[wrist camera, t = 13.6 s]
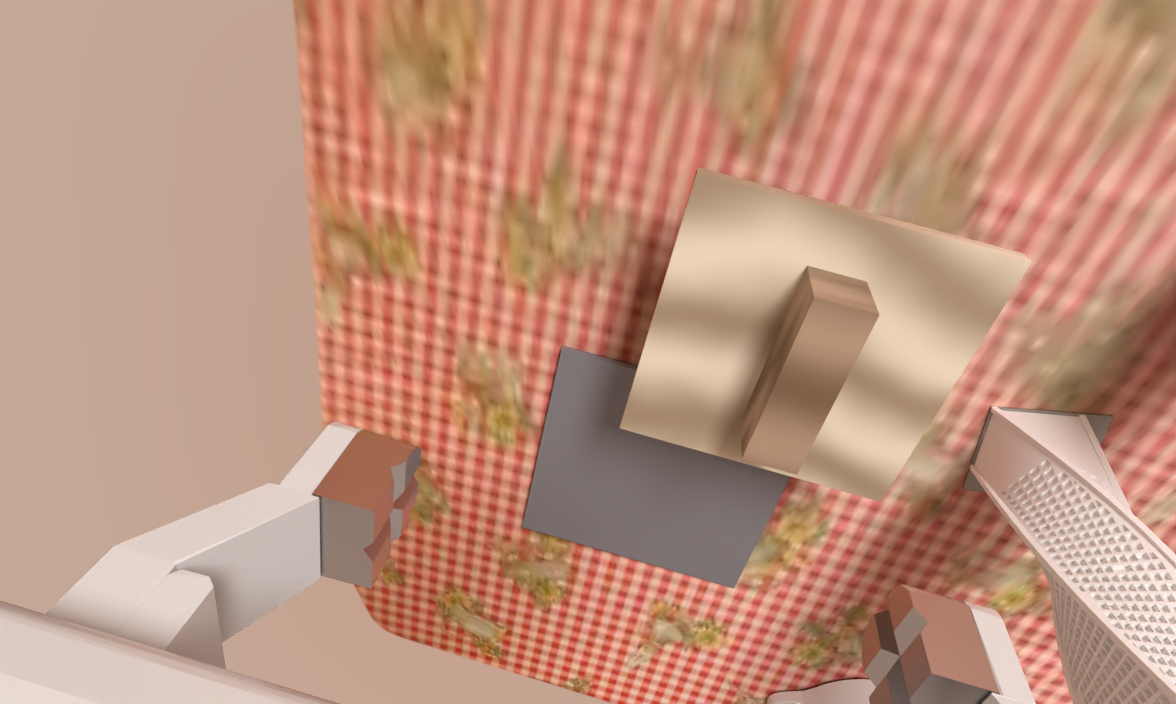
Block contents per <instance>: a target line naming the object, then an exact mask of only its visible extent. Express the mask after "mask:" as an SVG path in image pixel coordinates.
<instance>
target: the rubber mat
mask: <svg viewBox="0 0 1176 704" xmlns="http://www.w3.org/2000/svg"><path fill="white" fill-rule="evenodd" d="M636 370H637V366H635V365H631V364H627V363H624V362H620V361H617V360H613V359H609V358H606V357H602V356H599V355H595V354H591V353H588V352H584V351H580V350H577V349H573V348H570V347H566V346H563V347H562V349H561V353H560V358H559V362H558V367H557V372H556V376H555V381H554V385H553V390H552V394H551V399H550V403H549V408H548V412H547V417H546V421H545V426H544V430H543V435H542V439H541V444H540V448H539V453H538V457H537V462H536V466H535V471H534V475H533V480H532V484H531V489H530V494H529V498H528V503H527V507H526V512H525V516H524V521H523V525H522V527H523V528H527V529H530V530H534V531H537V532H540V533H544V534H547V535H551V536H554V537H558V538H561V539H565V540H568V541H572V542H575V543H579V544H582V545H586V546H589V547H593V548H596V549H599V550H603V551H606V552H610V553H613V554H617V555H620V556H624V557H627V558H631V559H634V560H638V561H641V562H645V563H648V564H652V565H655V566H658V567H662V568H665V569H669V570H672V571H676V572H679V573H683V574H686V575H690V576H693V577H697V578H700V579H704V580H707V581H710V582H714V583H717V584H721V585H724V586H728V587H731V588H734V587H735V585H736V583H737V581H738V579H739V577H740V575H741V573H742V571H743V569H744V567H745V565H746V563H747V561H748V559H749V557H750V555H751V553H752V552H753V550H754V548H755V546H756V544H757V542H758V540H759V538H760V536H761V534H762V532H763V530H764V528H765V526H766V524H767V522H768V520H769V518H770V516H771V514H772V512H773V510H774V508H775V506H776V504H777V502H778V500H779V498H780V497H781V495H782V493H783V491H784V489H785V487H786V485H787V483H788V481H789V479H790V477H791V476H787V475H784V474H780V473H776V472H773V471H769V470H766V469H762V468H759V467H755V466H752V465H748V464H744V463H741V462H737V461H734V460H730V459H727V458H723V457H720V456H716V455H712V454H709V453H705V452H702V451H698V450H695V449H691V448H688V447H684V446H681V445H677V444H673V443H670V442H666V441H663V440H659V439H656V438H652V437H649V436H645V435H641V434H638V433H634V432H631V431H627V430H624V429H620V424H621V420H622V416H623V413H624V409H625V406H626V403H627V400H628V396H629V393H630V390H631V386H632V383H633V380H634V376H635V373H636Z"/></svg>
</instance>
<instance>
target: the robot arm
mask: <svg viewBox="0 0 1176 704" xmlns="http://www.w3.org/2000/svg"><path fill="white" fill-rule="evenodd" d="M420 451H421V449H420V448H419V447H418V446H414V445H411V444H408V443H405V442H402V441H398V440H395V439H392V438H389V437H386V436H382V435H379V434H376V433H373V432H370V431H366V430H361V429H358V428H355V427H351V426H348V425H345V424H342V423H339V422H336V421H335V422H333V423H331V424H329V425H328V426H326V427H325V429H324V430H323V431H322V432H321V433H320V435H319V436H318V437H317V438H316V439H315V441H314V442H313V443H312V444H311V445H310V447H309V448H308V449H307V450H306V452H305V453H304V454H303V455H302V456H301V458H300V459H299V460H298V461H297V463H296V464H295V465H294V466H293V467H292V469H291V470H290V471H289V472H288V473H287V475H286V476H285V477H284V478H283V479H282V481H281V482H280V483H279V484H278V485H276V484H272V483H267V484H265V485H263V486H260V487H258V488H255V489H253V490H250V491H248V492H246V493H243V494H240V495H238V496H236V497H233V498H231V499H228V500H226V501H223V502H221V503H218V504H216V505H213V506H211V507H209V508H206V509H204V510H202V511H199V512H196V513H194V514H191V515H189V516H187V517H184V518H182V519H179V520H177V521H174V522H172V523H169V524H167V525H164V526H162V527H159V528H157V529H155V530H152V531H150V532H147V533H145V534H142V535H140V536H137V537H135V538H132V539H130V540H128V541H125V542H123V543H120V544H118V545H115V546H114V547H113V548H112V549H111V550H110V551H109V552H108V553H107V554H106V555H105V556H104V557H103V558H102V559H101V560H100V561H99V562H98V563H97V564H96V565H95V566H94V567H93V568H92V569H91V570H90V571H89V572H88V573H87V574H86V575H85V576H84V577H82V578H81V579H80V581H78V582H77V583H76V584H75V585H74V586H73V587H72V588H71V589H70V590H69V591H68V592H67V593H66V594H65V595H64V596H63V597H62V598H61V599H60V600H59V601H58V602H57V603H56V604H55V605H54V606H53V607H52V608H51V609H50V610H49V611H48V612H47V613H46V614H43V613H39V612H36V611H32V610H29V609H26V608H23V607H20V606H16V605H13V604H10V603H6V602H3V601H0V704H339V703H336V702H332V701H329V700H326V699H322V698H319V697H316V696H312V695H309V694H306V693H302V692H299V691H296V690H293V689H289V688H286V687H283V686H280V685H276V684H273V683H270V682H266V681H263V680H260V679H256V678H253V677H250V676H246V675H243V674H240V673H237V672H233V671H230V670H227V669H226V667H225V660H224V653H223V647H222V642H224V641H225V640H227V639H229V638H230V637H232V636H233V635H235V634H236V633H238V632H239V631H241V630H243V629H244V628H246V627H247V626H249V625H250V624H252V623H253V622H255V621H256V620H258V619H259V618H261V617H262V616H264V615H266V614H267V613H269V612H270V611H272V610H273V609H275V608H276V607H278V606H279V605H281V604H282V603H284V602H285V601H287V600H288V599H290V598H292V597H293V596H295V595H296V594H298V593H299V592H301V591H302V590H304V589H306V588H307V587H309V586H310V585H312V584H313V583H315V582H316V581H318V580H319V579H320V578H321V576H325V577H328V578H332V579H336V580H340V581H344V582H347V583H351V584H355V585H358V586H362V587H366V588H370V589H372V587H373V585H374V583H375V582H376V580H377V578H378V576H379V575H380V573H381V571H382V569H383V567H384V566H385V564H386V562H387V560H388V558H389V554H390V542H391V541H393V540H395V539H396V538H398V537H400V536H401V535H402V533H403V531H404V529H405V527H406V525H407V523H408V521H409V518H410V516H411V513H412V510H413V508H414V504H415V500H416V495H417V488H418V482H417V481H416V479H415V478H414V476H413V475H414V473H415V472H416V470H417V468H418V466H419V465H420ZM886 599H887V603H888V608H889V609H888V610H885V611H882V612H880V613H877V614H874V616H873V617H872V619H871V621H870V622H869V624H868V625H867V627H866V630H865V634H864V638H863V642H862V661H863V667H864V672H865V673H866V675H867V676H868V677H869V679H852V680H842V681H836V682H831V683H827V684H824V685H821V686H818V687H815V688H812V689H808V690H804V691H788V692H778V693H774V694H772V695H770V696H769V697H768V700H767V703H766V704H1036V703H1035V700H1034V698H1033V695H1032V693H1031V690H1030V688H1029V685H1028V683H1027V680H1026V678H1025V675H1024V673H1023V670H1022V668H1021V665H1020V663H1019V660H1018V658H1017V655H1016V653H1015V650H1014V648H1013V645H1012V643H1011V640H1010V637H1009V635H1008V632H1007V630H1006V627H1005V625H1004V622H1003V620H1002V618H1001V616H1000V615H999V614H998V613H997V612H996V611H995V610H993V609H990V608H986V607H983V606H979V605H975V604H972V603H968V602H964V601H959V600H957V599H953V598H949V597H946V596H942V595H939V594H935V593H931V592H928V591H924V590H920V589H917V588H913V587H910V586H906V585H902V584H900V585H898V586H897V587H895V588H893V589H892V591H891V592H890V594H889V595H888V596H887V598H886Z"/></svg>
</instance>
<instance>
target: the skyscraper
mask: <svg viewBox="0 0 1176 704" xmlns="http://www.w3.org/2000/svg"><path fill="white" fill-rule="evenodd" d="M1112 419H1113V416H1112V415H1100V414H1087V413H1074V412H1060V411H1047V410H1034V409H1021V408H1007V407H997V406H991V407H990V410H989V413H988V416H987V419H986V422H985V425H984V427H983V430H982V433H981V436H980V439H979V442H978V445H977V448H976V451H975V454H974V457H973V460H972V462H971V465H970V468H969V471H968V474H967V477H966V480H965V483H964V486H963V490H972V491H982V492H986V493H987V494H988V496H989V497H990V498H991V500H992V501H993V503H994V504H995V505H996V507H997V508H998V509H999V511H1000V512H1001V513H1002V515H1003V516H1004V517H1005V519H1006V520H1007V521H1008V523H1009V524H1010V525H1011V527H1012V528H1013V529H1014V530H1015V532H1016V533H1017V534H1018V535H1019V537H1020V538H1021V539H1022V540H1023V542H1024V543H1025V544H1026V545H1027V547H1028V548H1029V549H1030V550H1031V551H1032V553H1033V554H1034V555H1035V556H1036V557H1037V559H1038V560H1039V562H1040V564H1041V566H1042V568H1043V570H1044V573H1045V575H1046V578H1047V580H1048V583H1049V586H1050V589H1051V600H1052V610H1053V619H1054V626H1055V632H1056V638H1057V644H1058V649H1059V654H1060V658H1061V663H1062V667H1063V671H1064V674H1065V678H1066V681H1067V685H1068V689H1069V692H1070V695H1071V698H1072V700H1073V703H1074V704H1176V555H1175V554H1174V553H1173V552H1172V551H1171V550H1170V549H1169V548H1168V547H1167V546H1166V545H1165V544H1164V543H1163V542H1162V541H1161V540H1160V539H1159V538H1158V537H1157V536H1156V535H1155V534H1154V533H1153V532H1152V531H1151V530H1150V529H1149V528H1148V527H1147V526H1145V525H1144V524H1143V523H1142V522H1141V521H1140V520H1139V519H1138V518H1137V517H1136V516H1134V515H1133V514H1132V512H1131V509H1130V507H1129V505H1128V503H1127V501H1126V499H1125V496H1124V494H1123V492H1122V490H1121V488H1120V486H1119V484H1118V481H1117V479H1116V477H1115V475H1114V473H1113V471H1112V469H1111V467H1110V465H1109V463H1108V461H1107V459H1106V456H1105V454H1104V452H1103V450H1102V448H1101V446H1100V445H1101V443H1102V441H1103V438H1104V436H1105V434H1106V432H1107V430H1108V428H1109V425H1110V423H1111V421H1112Z"/></svg>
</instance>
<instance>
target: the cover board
mask: <svg viewBox="0 0 1176 704" xmlns="http://www.w3.org/2000/svg"><path fill="white" fill-rule="evenodd" d="M1031 263H1032V262H1031V261H1030V259H1029V258H1028V257H1027V256H1026V255H1025V254H1024V253H1020V252H1017V251H1013V250H1009V249H1005V248H1001V247H998V246H994V245H990V244H986V243H983V242H979V241H975V240H971V239H967V238H964V237H960V236H956V235H952V234H948V233H945V232H941V231H937V230H933V229H930V228H926V227H922V226H918V225H914V224H911V223H907V222H903V221H899V220H895V219H892V218H888V217H884V216H880V215H877V214H873V213H869V212H865V211H861V210H858V209H854V208H850V207H846V206H843V205H839V204H835V203H831V202H827V201H824V200H820V199H816V198H812V197H808V196H805V195H801V194H797V193H793V192H790V191H786V190H782V189H778V188H774V187H771V186H767V185H763V184H759V183H756V182H752V181H748V180H744V179H740V178H737V177H733V176H729V175H725V174H721V173H718V172H714V171H710V170H706V169H703V168H699V167H698V168H697V171H696V175H695V178H694V181H693V185H692V188H691V191H690V195H689V198H688V201H687V204H686V208H685V211H684V214H683V218H682V221H681V224H680V228H679V231H678V234H677V238H676V241H675V244H674V247H673V251H672V254H671V257H670V261H669V264H668V267H667V271H666V274H665V277H664V281H663V284H662V287H661V290H660V294H659V297H658V300H657V304H656V307H655V310H654V314H653V317H652V320H651V323H650V327H649V330H648V333H647V337H646V340H645V343H644V347H643V350H642V353H641V357H640V360H639V363H638V366H637V370H636V373H635V376H634V380H633V383H632V386H631V390H630V393H629V396H628V400H627V403H626V406H625V409H624V413H623V416H622V420H621V424H620V429H624V430H627V431H631V432H634V433H638V434H641V435H645V436H649V437H652V438H656V439H659V440H663V441H666V442H670V443H673V444H677V445H681V446H684V447H688V448H691V449H695V450H698V451H702V452H705V453H709V454H712V455H716V456H720V457H723V458H727V459H730V460H734V461H737V462H741V463H744V464H748V465H752V466H755V467H759V468H762V469H766V470H769V471H773V472H776V473H780V474H784V475H787V476H791V477H794V478H798V479H801V480H805V481H808V482H812V483H816V484H819V485H823V486H826V487H830V488H833V489H837V490H840V491H844V492H847V493H851V494H855V495H858V496H862V497H865V498H869V499H872V500H876V501H879V502H881V501H882V499H883V498H884V496H885V495H886V493H887V491H888V490H889V488H890V487H891V485H892V483H893V482H894V480H895V479H896V477H897V475H898V474H899V472H900V471H901V469H902V468H903V466H904V464H905V463H906V461H907V460H908V458H909V456H910V455H911V453H912V452H913V450H914V448H915V447H916V445H917V444H918V442H919V441H920V439H921V437H922V436H923V434H924V433H925V431H926V429H927V428H928V426H929V425H930V423H931V421H932V420H933V418H934V417H935V415H936V414H937V412H938V410H939V409H940V407H941V406H942V404H943V402H944V401H945V399H946V398H947V396H948V394H949V393H950V391H951V390H952V388H953V387H954V385H955V383H956V382H957V380H958V379H959V377H960V375H961V374H962V372H963V371H964V369H965V368H966V366H967V364H968V363H969V361H970V360H971V358H972V356H973V355H974V353H975V352H976V350H977V348H978V347H979V345H980V344H981V342H982V341H983V339H984V337H985V336H986V334H987V333H988V331H989V329H990V328H991V326H992V325H993V323H994V321H995V320H996V318H997V317H998V315H999V314H1000V312H1001V310H1002V309H1003V307H1004V306H1005V304H1006V302H1007V301H1008V299H1009V298H1010V296H1011V294H1012V293H1013V291H1014V290H1015V288H1016V287H1017V285H1018V283H1019V282H1020V280H1021V279H1022V277H1023V275H1024V274H1025V272H1026V271H1027V269H1028V267H1029V266H1030V264H1031Z"/></svg>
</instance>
